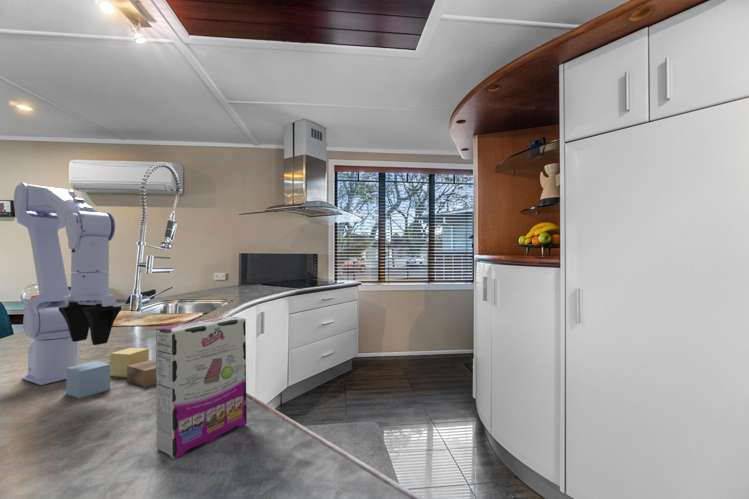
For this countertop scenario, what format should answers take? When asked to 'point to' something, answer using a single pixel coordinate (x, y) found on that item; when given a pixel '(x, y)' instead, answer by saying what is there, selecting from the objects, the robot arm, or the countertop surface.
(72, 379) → the blue cube
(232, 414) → the candy bar box
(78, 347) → the robot arm
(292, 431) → the countertop surface
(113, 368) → the mustard cube
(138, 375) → the walnut block
